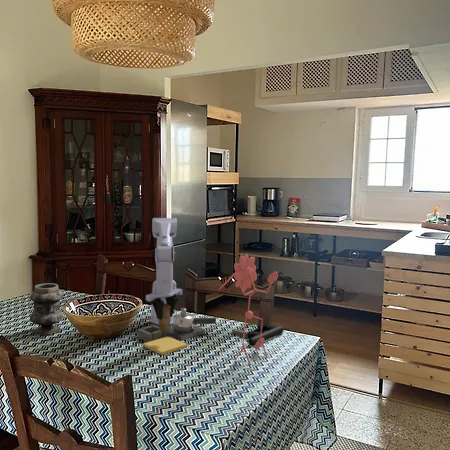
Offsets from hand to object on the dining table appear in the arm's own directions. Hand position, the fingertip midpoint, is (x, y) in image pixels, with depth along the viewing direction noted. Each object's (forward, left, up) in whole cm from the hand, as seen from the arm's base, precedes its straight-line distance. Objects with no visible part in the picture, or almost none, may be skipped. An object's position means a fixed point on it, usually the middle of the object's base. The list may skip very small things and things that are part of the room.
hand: (164, 317), depth 160 cm
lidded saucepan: (-4, +17, -9) cm, 20 cm away
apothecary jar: (-44, -24, -11) cm, 51 cm away
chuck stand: (-7, +14, -11) cm, 19 cm away
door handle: (+14, +32, -11) cm, 37 cm away
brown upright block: (0, 0, -4) cm, 4 cm away
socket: (-11, +2, -11) cm, 15 cm away
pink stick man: (+24, +15, -11) cm, 31 cm away
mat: (0, 0, -11) cm, 11 cm away
